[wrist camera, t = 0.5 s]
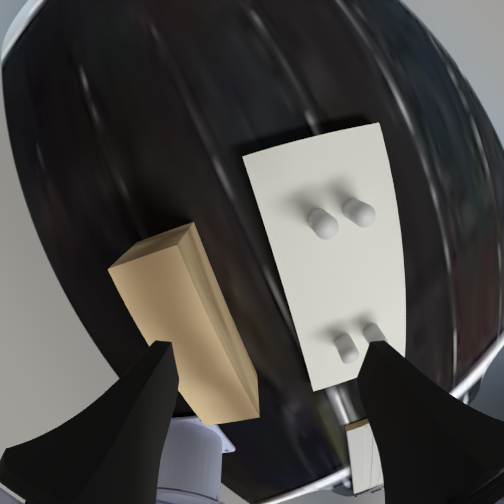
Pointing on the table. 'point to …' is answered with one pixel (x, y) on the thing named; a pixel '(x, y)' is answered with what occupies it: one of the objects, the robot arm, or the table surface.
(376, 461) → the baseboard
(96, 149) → the table surface
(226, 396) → the tan block
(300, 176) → the peg rack
